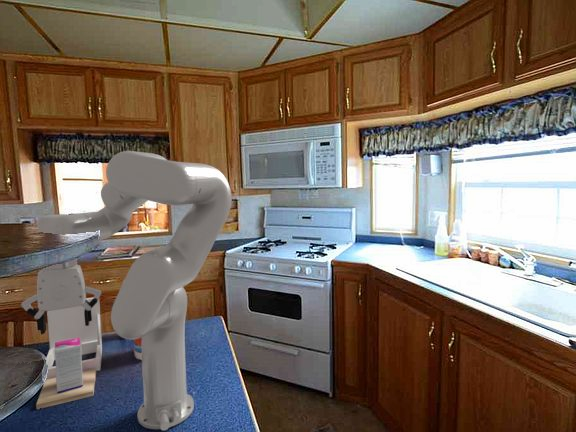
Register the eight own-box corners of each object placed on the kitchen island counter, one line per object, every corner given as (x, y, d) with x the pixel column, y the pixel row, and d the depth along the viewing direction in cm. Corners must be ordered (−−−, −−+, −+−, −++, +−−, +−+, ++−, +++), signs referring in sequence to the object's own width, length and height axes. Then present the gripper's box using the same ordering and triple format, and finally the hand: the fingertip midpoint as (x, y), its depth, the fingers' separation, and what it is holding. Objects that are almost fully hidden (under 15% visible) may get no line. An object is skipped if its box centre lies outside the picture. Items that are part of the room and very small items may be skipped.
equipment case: (100, 371, 100) (96, 312, 98) (41, 384, 94) (36, 322, 92) (102, 348, 114) (98, 296, 112) (51, 358, 108) (47, 303, 106)
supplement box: (84, 386, 90) (81, 344, 89) (56, 394, 87) (53, 351, 86) (82, 376, 95) (79, 336, 94) (56, 383, 92) (53, 342, 91)
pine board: (93, 395, 89) (93, 391, 88) (36, 409, 83) (36, 404, 83) (96, 372, 99) (95, 368, 99) (45, 383, 94) (45, 379, 94)
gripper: (13, 271, 81) (21, 341, 82) (97, 261, 88) (103, 326, 90) (21, 264, 88) (28, 330, 89) (99, 256, 95) (104, 316, 97)
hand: (66, 328), depth 89 cm, fingers open, 9 cm apart
